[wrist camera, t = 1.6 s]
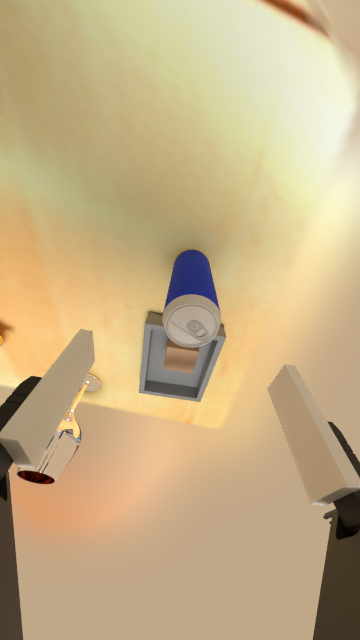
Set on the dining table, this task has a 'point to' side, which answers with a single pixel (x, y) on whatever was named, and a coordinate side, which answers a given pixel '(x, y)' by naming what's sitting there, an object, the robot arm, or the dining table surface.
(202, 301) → the beverage can
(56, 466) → the wineglass
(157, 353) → the tray
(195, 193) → the dining table surface
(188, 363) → the walnut block
